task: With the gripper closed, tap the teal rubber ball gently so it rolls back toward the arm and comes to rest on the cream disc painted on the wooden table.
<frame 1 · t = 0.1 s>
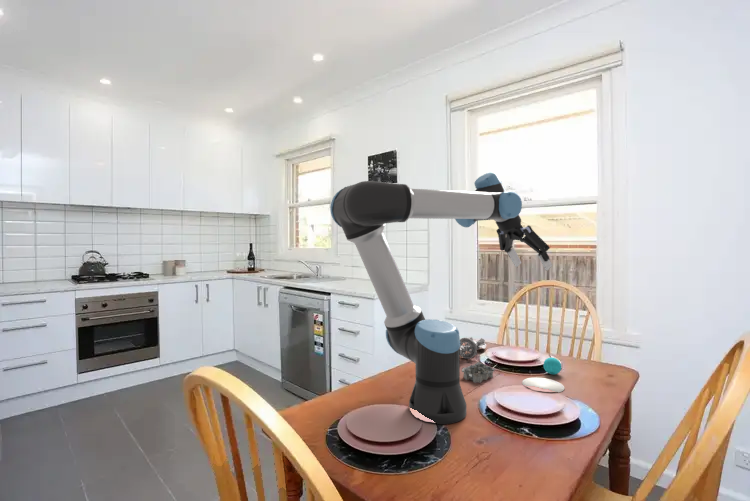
hand: (533, 266, 133), 36 cm above the table, fingers open, 13 cm apart
spaceship: (466, 359, 146), on the table
ball: (552, 365, 129), on the table
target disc: (542, 385, 120), on the table
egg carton: (478, 378, 127), on the table
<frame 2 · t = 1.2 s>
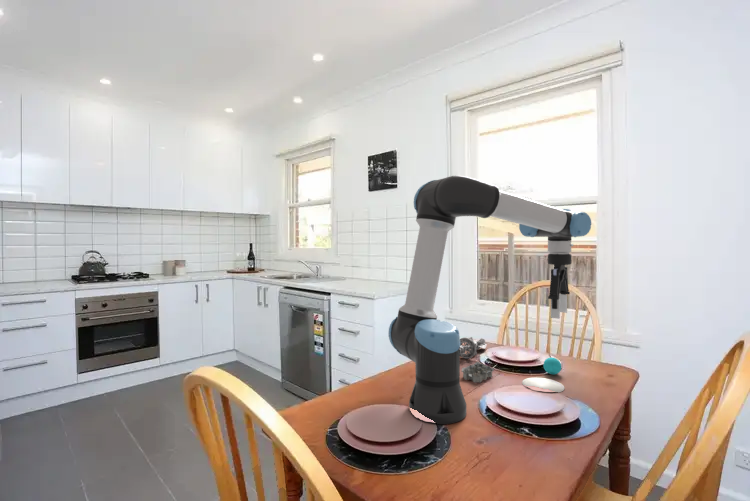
hand: (559, 315, 136), 18 cm above the table, fingers open, 11 cm apart
nothing on the table moved.
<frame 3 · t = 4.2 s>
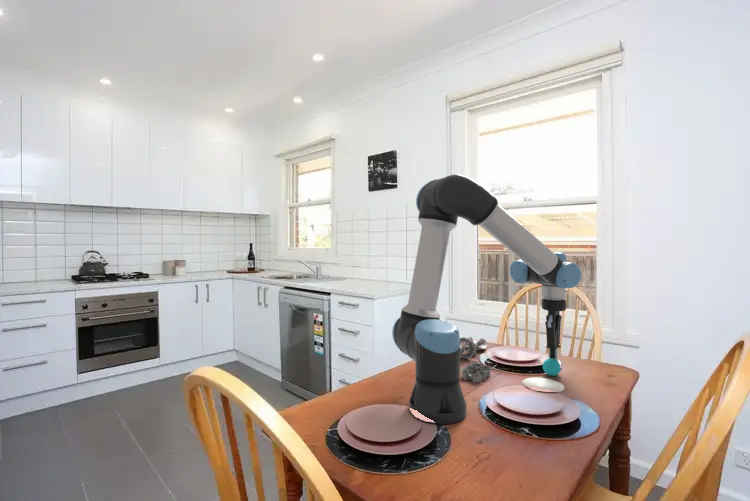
hand: (553, 366, 131), 2 cm above the table, fingers closed
ball: (551, 367, 128), on the table, touching gripper
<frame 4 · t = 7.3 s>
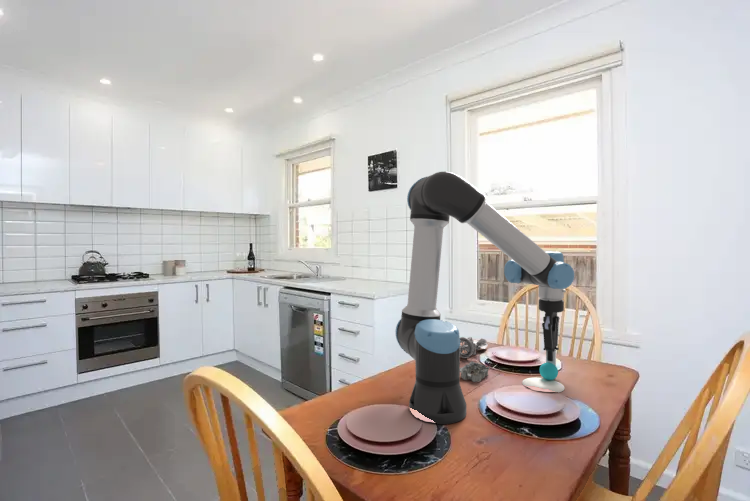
hand: (551, 369, 127), 2 cm above the table, fingers closed
ball: (548, 371, 124), on the table, touching gripper
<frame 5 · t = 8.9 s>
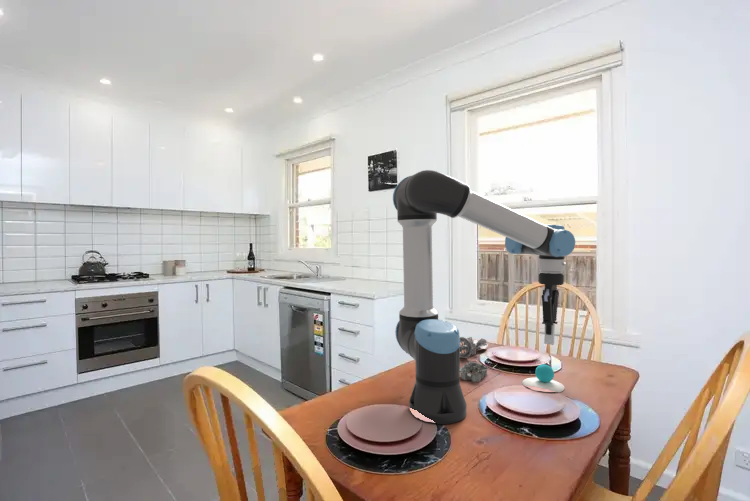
hand: (549, 343, 126), 11 cm above the table, fingers closed
ball: (544, 373, 122), on the table
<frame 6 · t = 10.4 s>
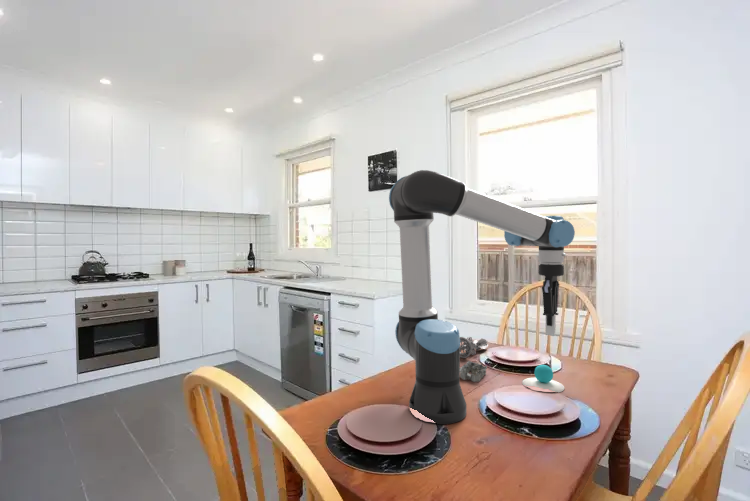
hand: (550, 334, 126), 14 cm above the table, fingers closed
at the end: ball 2.7 cm from the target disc (horizontally); ball at rest at the end (0.0 cm/s); ball moved 9.3 cm from its start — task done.
